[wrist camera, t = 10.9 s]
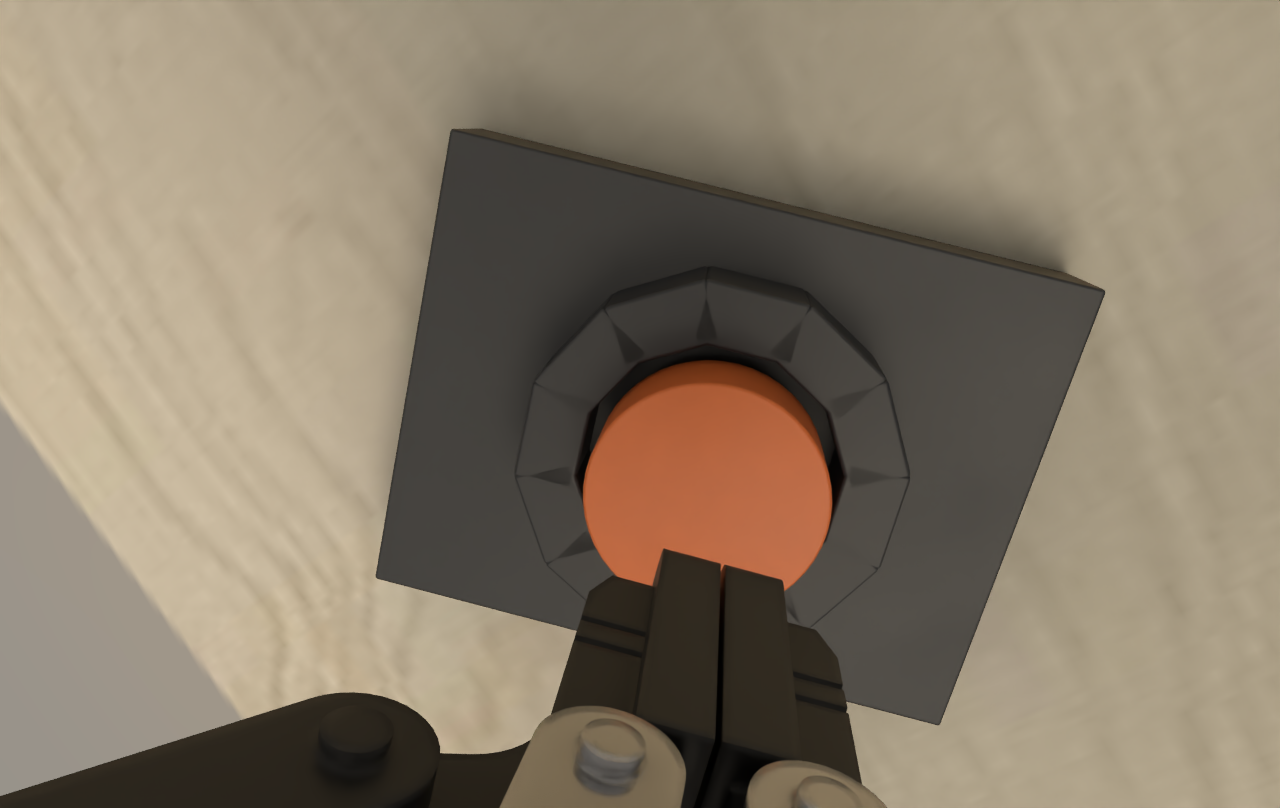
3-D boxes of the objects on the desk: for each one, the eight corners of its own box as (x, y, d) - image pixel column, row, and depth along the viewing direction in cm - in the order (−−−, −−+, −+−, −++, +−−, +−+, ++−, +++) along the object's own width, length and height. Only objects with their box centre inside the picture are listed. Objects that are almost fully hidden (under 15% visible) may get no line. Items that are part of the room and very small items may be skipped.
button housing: (1069, 274, 20) (1146, 307, 17) (921, 673, 23) (957, 780, 19) (479, 127, 21) (421, 128, 17) (406, 539, 24) (342, 618, 20)
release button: (852, 391, 18) (864, 419, 16) (788, 597, 19) (793, 642, 17) (624, 334, 18) (612, 355, 16) (575, 542, 19) (559, 581, 18)
